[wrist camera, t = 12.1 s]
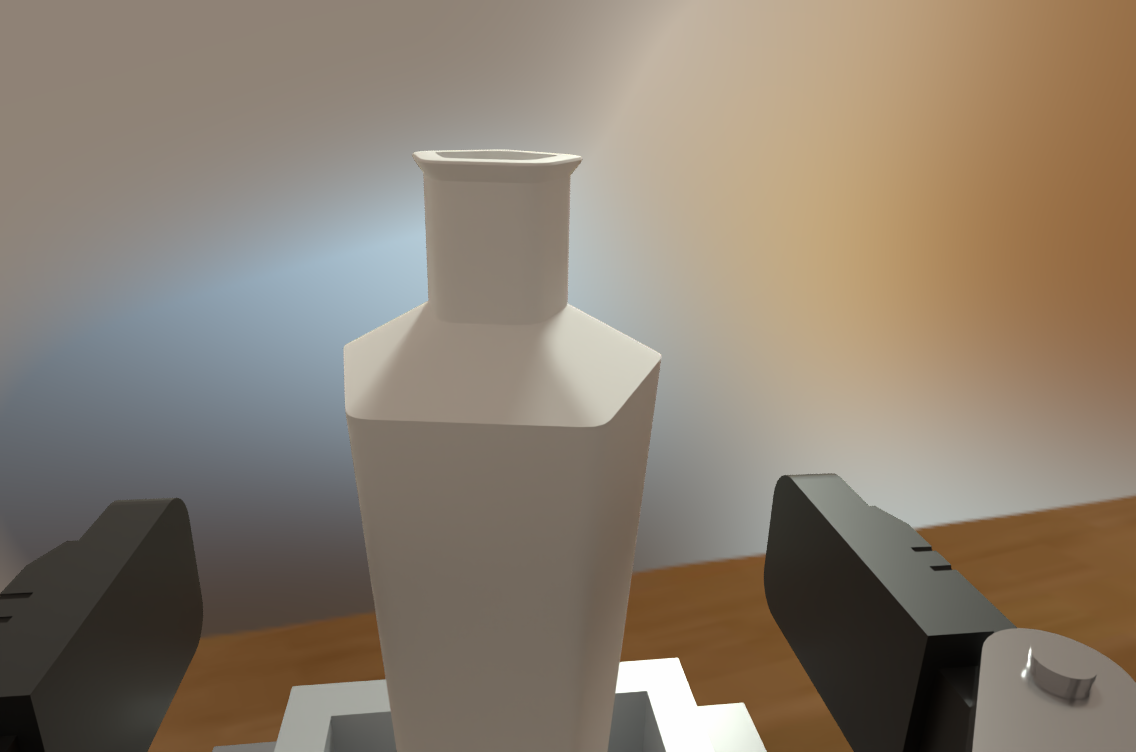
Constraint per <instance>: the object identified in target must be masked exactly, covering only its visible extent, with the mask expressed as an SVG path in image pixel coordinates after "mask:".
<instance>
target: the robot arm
mask: <svg viewBox="0 0 1136 752" xmlns="http://www.w3.org/2000/svg"><path fill="white" fill-rule="evenodd" d="M189 521H190V520H189V515H188V511H187V508H186V506H185V504H184V502H183V501H182V500H181V499H179V498H162V499H137V500H117V501H114V502H113V503H111V504H110V505H109V506H108V507H107V509H106V510H105V511H104V512H103V513H102V514H101V516H100V517H99V518H98V519H97V520H96V521H95V522H94V524H93V525H92V526H91V527H90V528H89V529H88V531H87V532H86V533H85V534H84V535H83V536H82V537H81V538H80V540H79V541H66V542H64V543H63V544H61V545H60V546H58V547H56V548H55V549H53V550H51V551H50V552H48V553H46V554H45V555H43V556H42V557H40V558H38V559H37V560H35V561H33V562H32V563H30V564H28V565H27V566H26V567H25V568H24V569H23V570H22V571H21V572H20V573H19V574H18V575H17V576H16V577H15V579H14V580H13V581H12V582H11V583H10V584H9V585H8V586H7V587H6V588H5V589H4V590H3V591H2V592H1V594H0V752H147V751H148V749H149V747H150V745H151V743H152V741H153V739H154V737H155V735H156V732H157V730H158V728H159V726H160V724H161V722H162V720H163V718H164V716H165V714H166V712H167V710H168V708H169V706H170V704H171V701H172V699H173V697H174V695H175V693H176V691H177V689H178V687H179V685H180V683H181V681H182V679H183V677H184V675H185V672H186V670H187V668H188V666H189V664H190V662H191V660H192V658H193V656H194V654H195V652H196V649H197V647H198V643H199V640H200V635H201V630H202V621H203V602H202V595H201V589H200V582H199V576H198V570H197V564H196V558H195V551H194V545H193V540H192V533H191V527H190V522H189ZM931 547H932V546H931V545H930V544H928V543H927V542H926V541H925V540H924V539H923V538H922V537H921V536H920V535H919V534H918V533H917V532H916V531H915V530H914V529H913V528H912V527H911V526H910V525H909V524H907V523H905V522H903V521H901V520H900V519H898V518H896V517H894V516H892V515H890V514H888V513H887V512H885V511H883V510H881V509H879V508H877V507H876V506H868V504H866V502H864V501H863V500H862V498H861V497H859V495H858V494H856V493H855V492H854V490H852V489H851V487H850V486H848V485H847V484H846V482H845V481H844V480H842V478H840V477H839V476H838V475H836V474H806V475H784V476H781V478H779V480H778V481H777V484H776V487H775V491H774V496H773V505H772V512H771V520H770V528H769V536H768V544H767V551H766V559H765V567H764V587H765V594H766V599H767V603H768V606H769V609H770V611H771V614H772V616H773V618H774V619H775V621H776V623H777V624H778V626H779V628H780V629H781V631H782V633H783V634H784V636H785V638H786V639H787V641H788V643H789V644H790V646H791V648H792V649H793V651H794V653H795V654H796V656H797V658H798V659H799V661H800V663H801V664H802V666H803V668H804V669H805V671H806V673H807V674H808V676H809V678H810V679H811V681H812V683H813V684H814V686H815V688H816V689H817V691H818V693H819V694H820V696H821V697H822V699H823V701H824V702H825V704H826V706H827V707H828V709H829V711H830V712H831V714H832V716H833V717H834V719H835V721H836V722H837V724H838V726H839V727H840V729H841V731H842V732H843V734H844V736H845V737H846V739H847V741H848V742H849V744H850V746H851V747H852V749H853V751H854V752H1136V683H1135V682H1134V680H1133V679H1132V678H1131V677H1130V676H1129V675H1128V674H1127V673H1126V672H1125V671H1124V670H1123V669H1122V668H1121V667H1120V666H1119V665H1117V664H1116V663H1114V662H1113V661H1112V660H1110V659H1109V658H1108V657H1106V656H1104V655H1103V654H1101V653H1099V652H1098V651H1096V650H1094V649H1092V648H1090V647H1088V646H1086V645H1084V644H1082V643H1079V642H1077V641H1075V640H1072V639H1070V638H1067V637H1064V636H1061V635H1058V634H1054V633H1050V632H1046V631H1041V630H1035V629H1023V628H1017V627H1016V626H1015V625H1014V624H1013V623H1011V622H1010V621H1009V620H1008V619H1007V618H1006V617H1005V616H1004V615H1003V614H1002V613H1001V612H1000V611H999V610H998V609H997V608H996V607H995V606H994V605H993V604H992V603H990V602H989V601H988V600H987V599H986V598H985V597H984V596H983V595H982V594H981V593H980V592H979V591H978V590H977V589H976V588H975V587H974V586H973V585H972V584H970V583H969V582H968V581H967V580H966V579H965V578H964V577H963V576H962V575H961V574H960V573H959V572H958V571H957V570H952V569H951V564H949V563H948V562H947V561H946V560H945V559H944V558H943V557H942V556H941V555H940V554H939V553H938V552H937V551H932V549H931Z"/></svg>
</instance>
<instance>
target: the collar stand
mask: <svg viewBox="0 0 1136 752" xmlns="http://www.w3.org/2000/svg"><path fill="white" fill-rule="evenodd" d="M212 752H397V750H396V743H395V737H394V730H393V723H392V717H391V710H390V703H389V697H388V690H387V683H386V680H374V681H360V682H347V683H333V684H320V685H306V686H293V687H292V690H291V694H290V697H289V701H288V704H287V708H286V711H285V715H284V718H283V722H282V725H281V729H280V732H279V736H278V740H277V742H266V743H254V744H241V745H229V746H217V747H214V749H213V751H212ZM607 752H766V749H765V747H764V745H763V743H762V741H761V739H760V737H759V734H758V732H757V730H756V728H755V726H754V724H753V722H752V720H751V717H750V715H749V713H748V711H747V709H746V707H745V705H744V703H734V704H722V705H710V706H698V707H697V705H696V703H695V700H694V698H693V695H692V693H691V690H690V687H689V685H688V682H687V680H686V677H685V675H684V672H683V669H682V667H681V664H680V662H679V659H678V658H669V659H656V660H642V661H629V662H620V663H619V671H618V678H617V685H616V693H615V700H614V707H613V714H612V722H611V729H610V736H609V744H608V751H607Z"/></svg>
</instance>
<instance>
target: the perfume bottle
mask: <svg viewBox="0 0 1136 752" xmlns="http://www.w3.org/2000/svg"><path fill="white" fill-rule="evenodd" d="M412 157H413V158H414V160H415V162H416V163H417V165H418V166H419V167H420V169H421V170H422V171H423V174H424V196H425V197H424V198H425V224H426V248H427V271H428V298H429V301H427V302H425V303H423V304H421V305H419V306H418V307H416V308H414V309H412V310H410V311H408V312H406V313H404V314H403V315H401V316H399V317H397V318H395V319H393V320H391V321H389V322H387V323H386V324H384V325H382V326H380V327H378V328H376V329H374V330H372V331H370V332H369V333H367V334H365V335H363V336H361V337H359V338H357V339H356V340H354V341H352V342H350V343H348V344H346V345H345V346H344V380H345V410H346V418H347V425H348V431H349V438H350V444H351V450H352V457H353V464H354V471H355V478H356V484H357V491H358V498H359V504H360V510H361V518H362V523H363V531H364V537H365V544H366V551H367V557H368V564H369V570H370V577H371V584H372V590H373V597H374V603H375V610H376V617H377V624H378V630H379V637H380V644H381V650H382V657H383V664H384V670H385V677H386V683H387V690H388V697H389V703H390V710H391V717H392V723H393V730H394V737H395V743H396V750H397V752H607V751H608V744H609V736H610V729H611V722H612V714H613V707H614V700H615V693H616V685H617V678H618V671H619V663H620V656H621V649H622V641H623V634H624V627H625V619H626V612H627V605H628V597H629V590H630V583H631V575H632V568H633V560H634V553H635V546H636V539H637V531H638V524H639V517H640V509H641V502H642V494H643V487H644V480H645V473H646V465H647V458H648V451H649V443H650V436H651V429H652V422H653V413H654V407H655V400H656V392H657V385H658V378H659V370H660V363H661V354H659V353H658V352H656V351H655V350H653V349H651V348H649V347H647V346H645V345H644V344H642V343H640V342H638V341H636V340H634V339H632V338H631V337H629V336H627V335H625V334H623V333H621V332H619V331H618V330H616V329H614V328H612V327H610V326H608V325H607V324H605V323H603V322H601V321H599V320H597V319H595V318H594V317H592V316H590V315H588V314H586V313H584V312H582V311H581V310H579V309H577V308H575V307H573V306H571V305H569V304H568V303H567V302H568V301H567V300H568V257H569V256H568V254H569V212H570V211H569V210H570V209H569V208H570V175H571V174H572V173H573V172H574V170H575V169H576V168H577V167H578V165H579V164H580V163H581V161H582V157H581V156H577V155H569V154H557V153H556V154H555V153H544V152H531V151H516V150H457V151H456V150H454V151H453V150H450V151H420V152H414V153H413V155H412Z"/></svg>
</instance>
